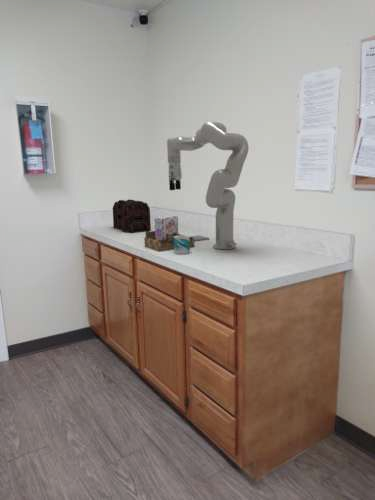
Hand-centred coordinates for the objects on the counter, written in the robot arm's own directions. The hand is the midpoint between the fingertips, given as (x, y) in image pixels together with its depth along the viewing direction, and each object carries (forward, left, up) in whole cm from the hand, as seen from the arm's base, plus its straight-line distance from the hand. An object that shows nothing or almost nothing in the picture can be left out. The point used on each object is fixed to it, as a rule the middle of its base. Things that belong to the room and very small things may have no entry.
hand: (175, 189), depth 236 cm
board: (-5, -8, -30) cm, 32 cm away
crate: (+60, +3, -31) cm, 67 cm away
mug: (-31, +16, -31) cm, 47 cm away
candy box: (-13, +13, -31) cm, 36 cm away
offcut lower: (-21, +13, -31) cm, 40 cm away
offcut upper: (-21, +14, -27) cm, 37 cm away
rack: (-15, +13, -30) cm, 36 cm away
